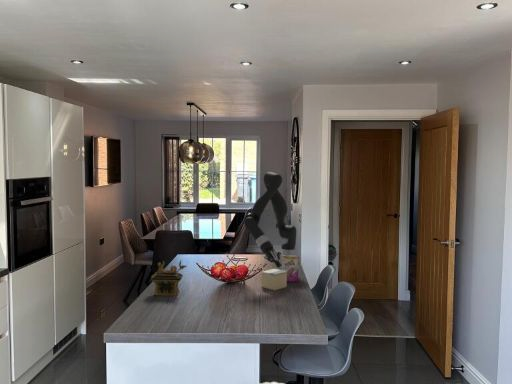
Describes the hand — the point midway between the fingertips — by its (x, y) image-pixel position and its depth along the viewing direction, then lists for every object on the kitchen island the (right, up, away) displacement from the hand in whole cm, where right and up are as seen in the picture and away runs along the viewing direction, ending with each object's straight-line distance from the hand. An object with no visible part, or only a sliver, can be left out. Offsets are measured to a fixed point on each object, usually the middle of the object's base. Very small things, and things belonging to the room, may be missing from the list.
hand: (279, 266), depth 284 cm
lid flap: (-3, -4, +3) cm, 6 cm away
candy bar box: (+7, -12, +20) cm, 25 cm away
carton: (-3, -13, +3) cm, 14 cm away
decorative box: (-63, -13, -16) cm, 67 cm away
